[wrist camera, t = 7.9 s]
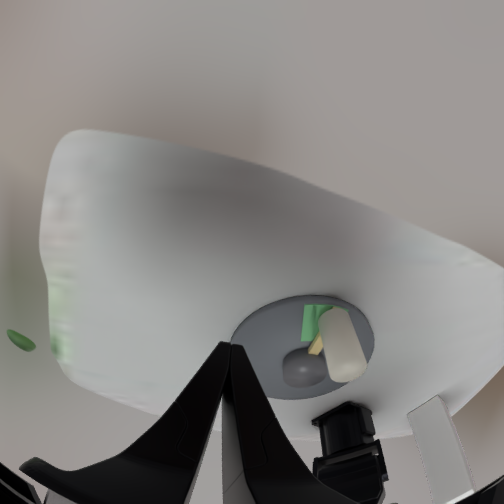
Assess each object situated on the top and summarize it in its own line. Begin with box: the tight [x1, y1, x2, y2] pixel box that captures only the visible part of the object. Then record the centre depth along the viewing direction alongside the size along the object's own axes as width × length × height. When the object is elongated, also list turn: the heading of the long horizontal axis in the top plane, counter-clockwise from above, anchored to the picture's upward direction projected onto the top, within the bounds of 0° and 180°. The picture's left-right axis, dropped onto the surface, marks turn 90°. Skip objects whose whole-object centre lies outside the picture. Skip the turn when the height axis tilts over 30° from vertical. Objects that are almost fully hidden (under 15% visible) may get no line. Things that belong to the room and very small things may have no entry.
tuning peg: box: [282, 307, 367, 388], centre depth 20 cm, size 9×4×6 cm, turn 164°
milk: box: [407, 395, 476, 504], centre depth 22 cm, size 6×6×22 cm
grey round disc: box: [230, 295, 374, 400], centre depth 24 cm, size 14×14×1 cm
